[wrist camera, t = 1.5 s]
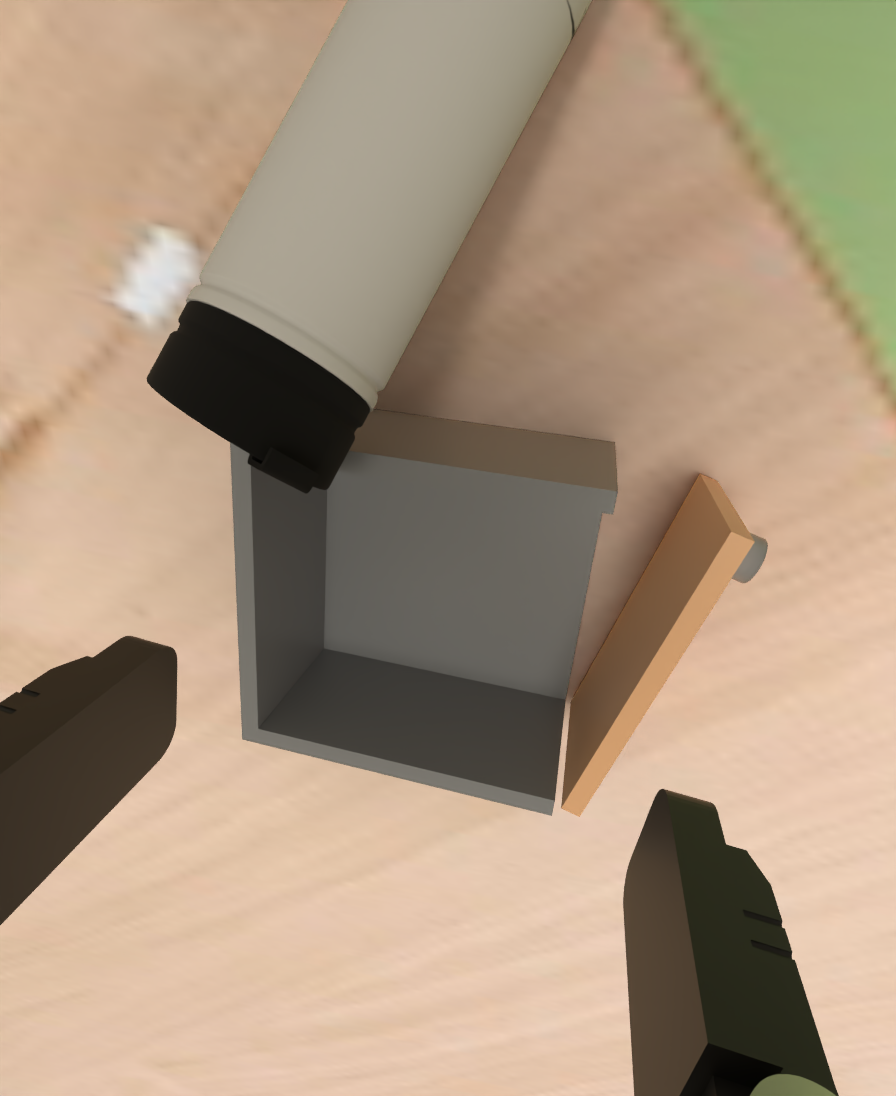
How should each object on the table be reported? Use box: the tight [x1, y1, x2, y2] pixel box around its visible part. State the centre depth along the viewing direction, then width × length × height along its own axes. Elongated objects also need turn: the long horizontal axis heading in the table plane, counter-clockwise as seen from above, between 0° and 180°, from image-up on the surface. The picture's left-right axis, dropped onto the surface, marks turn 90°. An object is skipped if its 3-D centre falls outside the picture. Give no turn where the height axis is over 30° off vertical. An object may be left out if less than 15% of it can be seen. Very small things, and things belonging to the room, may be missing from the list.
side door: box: [561, 474, 768, 817], centre depth 26 cm, size 2×13×8 cm, turn 160°
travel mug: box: [147, 0, 592, 494], centre depth 20 cm, size 6×7×20 cm
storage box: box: [230, 409, 618, 816], centre depth 28 cm, size 14×14×8 cm
